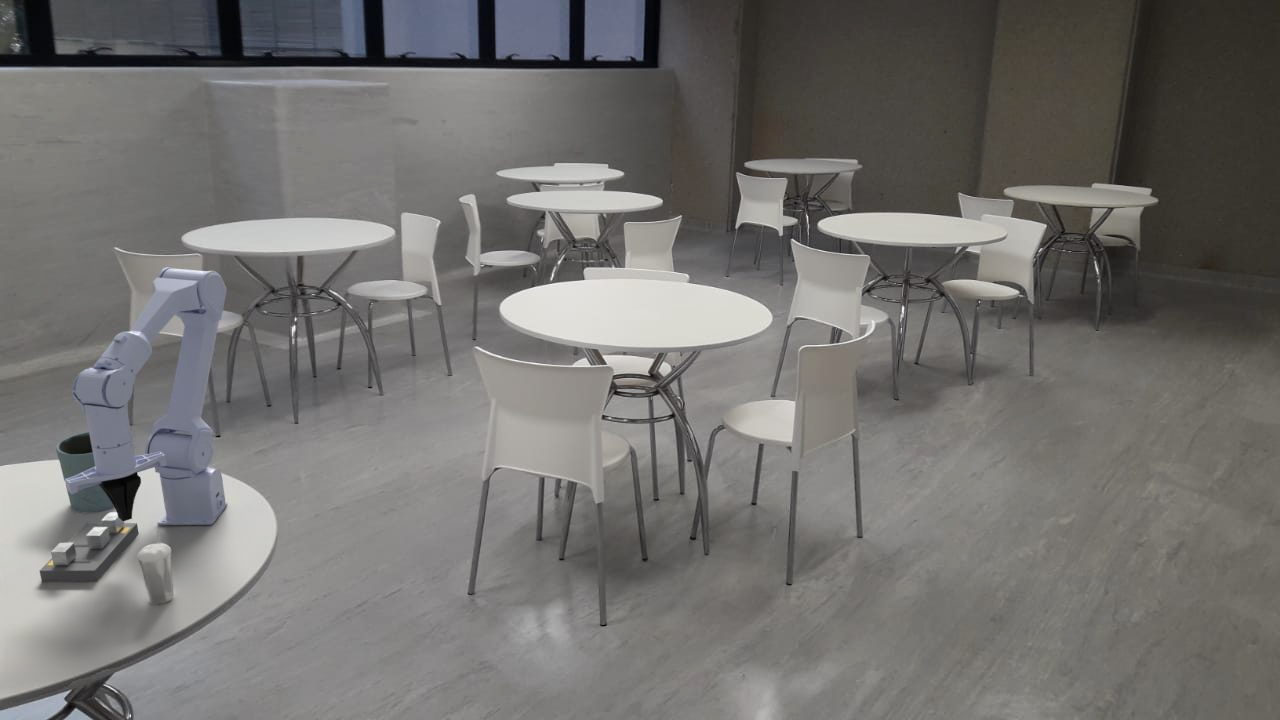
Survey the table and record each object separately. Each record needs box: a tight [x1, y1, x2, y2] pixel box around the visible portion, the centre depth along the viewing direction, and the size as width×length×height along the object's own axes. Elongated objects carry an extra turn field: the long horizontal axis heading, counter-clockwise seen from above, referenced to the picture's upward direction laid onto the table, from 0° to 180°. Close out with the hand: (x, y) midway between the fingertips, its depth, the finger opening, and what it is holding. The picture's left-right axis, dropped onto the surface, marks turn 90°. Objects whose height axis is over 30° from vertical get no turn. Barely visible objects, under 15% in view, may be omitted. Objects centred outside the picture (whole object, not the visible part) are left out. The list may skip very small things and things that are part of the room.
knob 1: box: [50, 542, 77, 565], centre depth 157 cm, size 2×3×2 cm
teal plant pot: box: [55, 431, 115, 514], centre depth 179 cm, size 10×10×12 cm
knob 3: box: [100, 511, 125, 533], centre depth 167 cm, size 2×3×2 cm
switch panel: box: [39, 522, 139, 583], centre depth 163 cm, size 8×15×2 cm, turn 2°
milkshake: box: [137, 531, 175, 605], centre depth 151 cm, size 4×5×10 cm
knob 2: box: [86, 527, 110, 549], centre depth 162 cm, size 2×3×2 cm
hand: (125, 518), depth 161 cm, fingers closed
